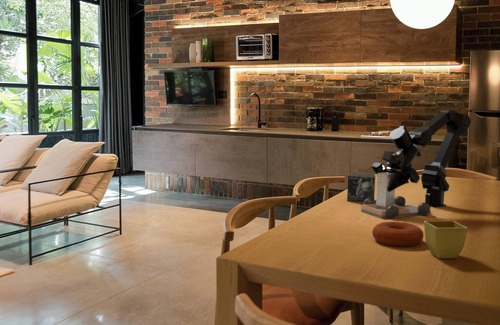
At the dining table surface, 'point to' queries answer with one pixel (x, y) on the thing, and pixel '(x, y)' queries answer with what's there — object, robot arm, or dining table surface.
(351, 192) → the box
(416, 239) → the donut
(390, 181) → the block
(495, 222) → the dining table surface
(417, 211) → the chassis
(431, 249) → the flower pot
